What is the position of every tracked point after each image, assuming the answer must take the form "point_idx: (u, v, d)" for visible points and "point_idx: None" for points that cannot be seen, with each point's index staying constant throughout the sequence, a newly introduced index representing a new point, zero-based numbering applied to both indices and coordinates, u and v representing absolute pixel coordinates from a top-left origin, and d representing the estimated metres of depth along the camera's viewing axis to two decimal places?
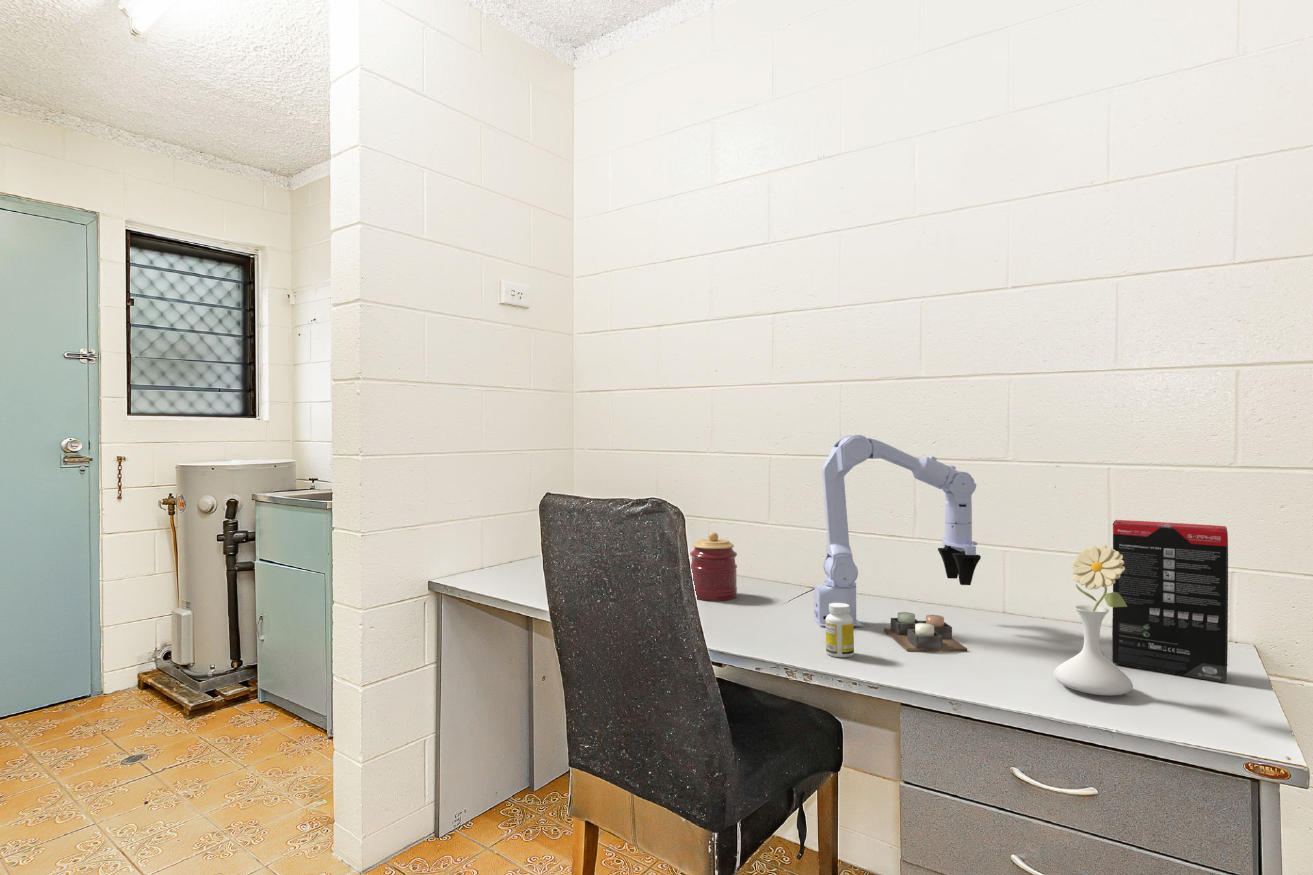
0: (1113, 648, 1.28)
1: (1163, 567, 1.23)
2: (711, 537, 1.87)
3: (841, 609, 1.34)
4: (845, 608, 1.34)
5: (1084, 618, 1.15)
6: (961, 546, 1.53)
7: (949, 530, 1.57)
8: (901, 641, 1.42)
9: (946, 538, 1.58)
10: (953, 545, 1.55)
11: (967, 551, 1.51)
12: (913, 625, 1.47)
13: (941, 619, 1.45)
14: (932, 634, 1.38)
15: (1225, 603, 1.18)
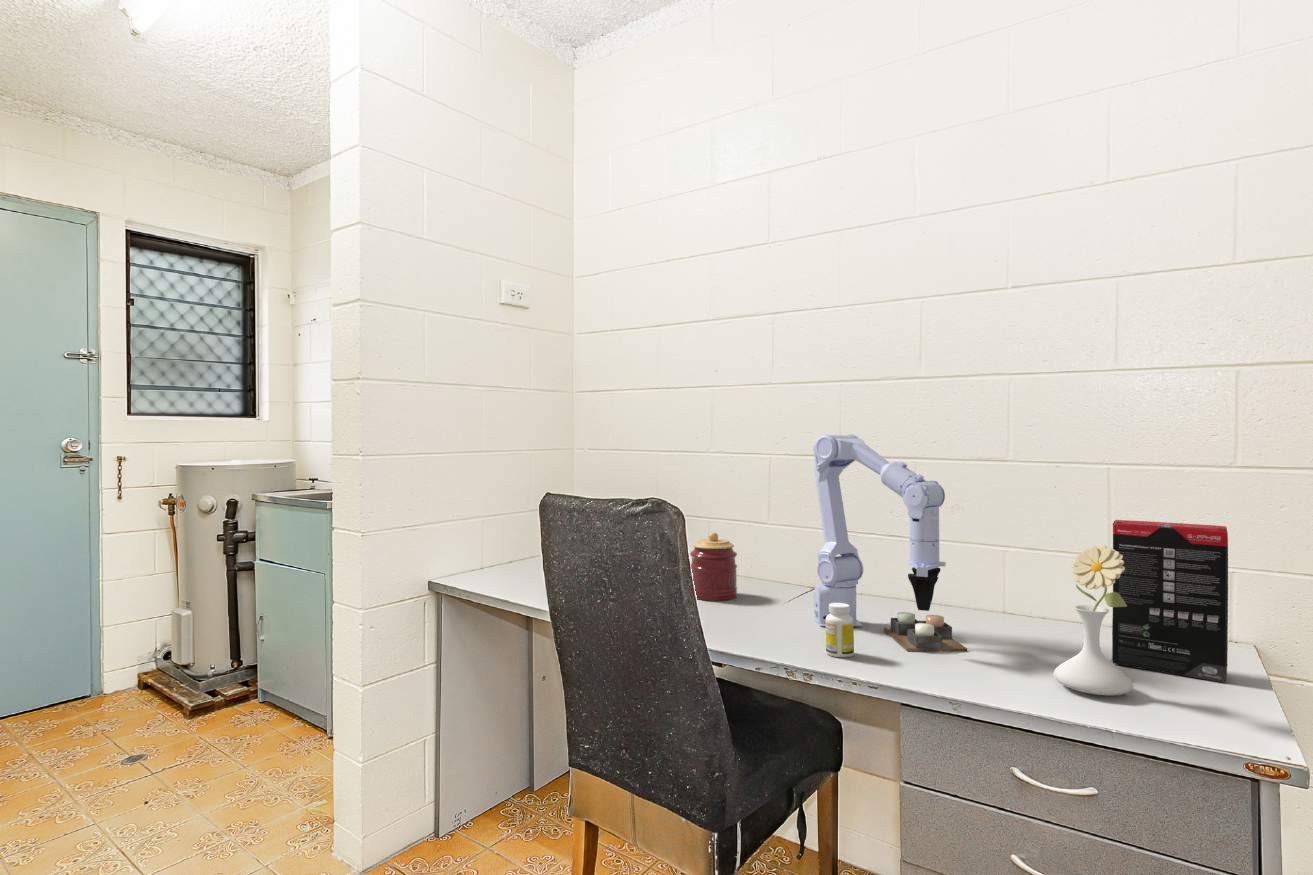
0: (1113, 648, 1.28)
1: (1163, 567, 1.23)
2: (711, 537, 1.87)
3: (841, 609, 1.34)
4: (845, 608, 1.34)
5: (1084, 618, 1.15)
6: (915, 566, 1.36)
7: (910, 548, 1.40)
8: (901, 641, 1.42)
9: None
10: (911, 565, 1.39)
11: (917, 572, 1.34)
12: (913, 625, 1.47)
13: (941, 619, 1.45)
14: (932, 634, 1.38)
15: (1225, 603, 1.18)
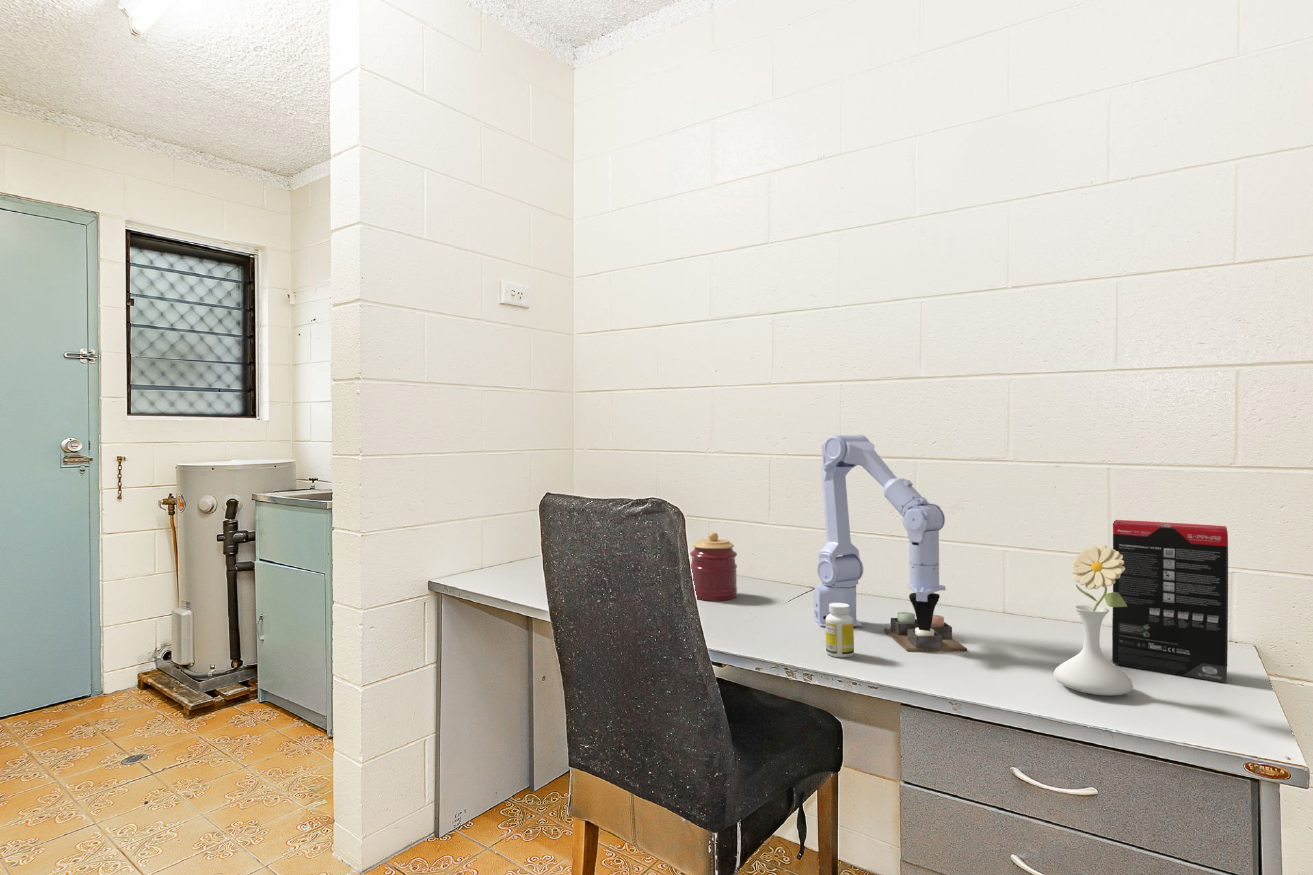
0: (1113, 648, 1.28)
1: (1163, 567, 1.23)
2: (711, 537, 1.87)
3: (841, 609, 1.34)
4: (845, 608, 1.34)
5: (1084, 618, 1.15)
6: (915, 590, 1.36)
7: (910, 571, 1.40)
8: (901, 641, 1.42)
9: None
10: (911, 588, 1.38)
11: (917, 597, 1.34)
12: (913, 625, 1.47)
13: (941, 619, 1.45)
14: None
15: (1225, 603, 1.18)
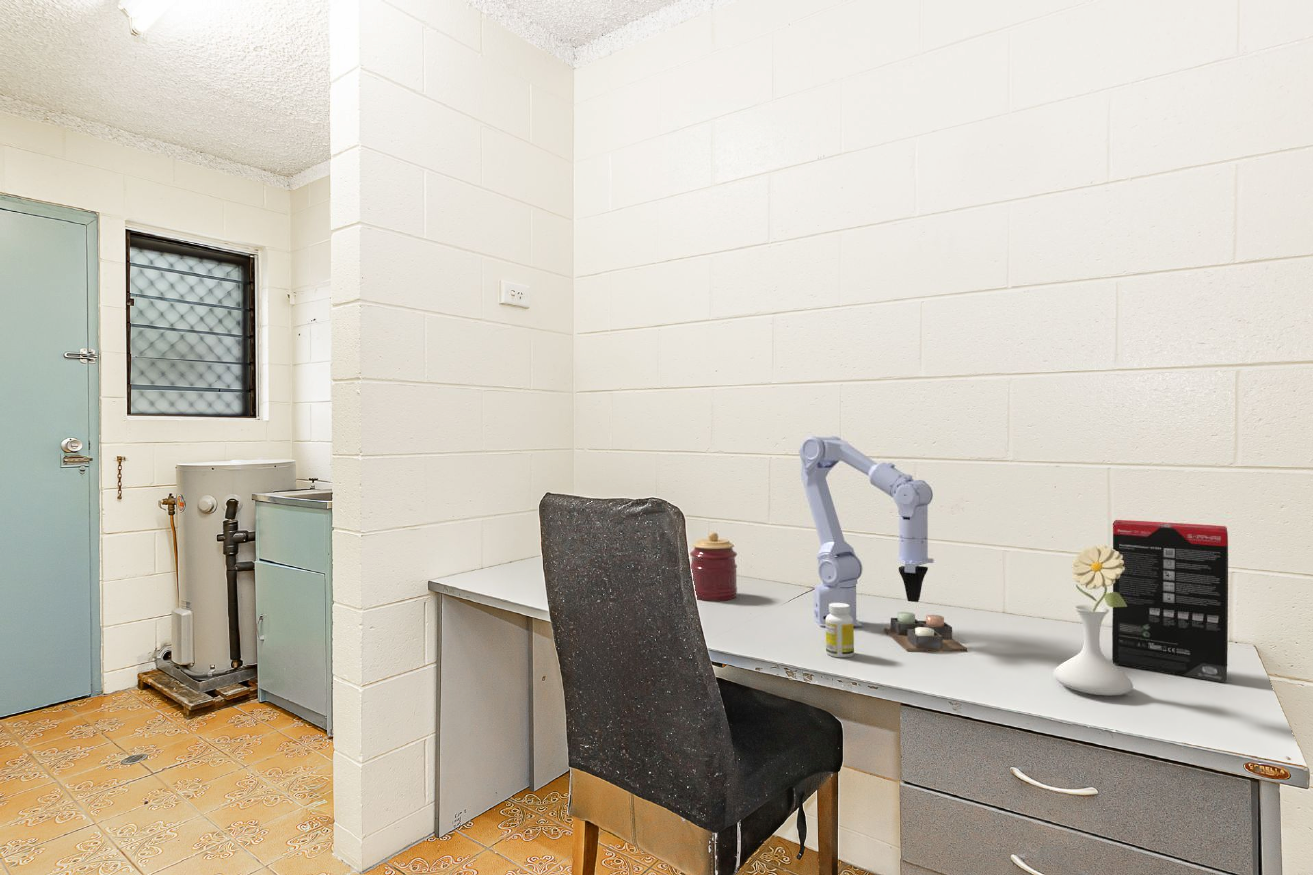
0: (1113, 648, 1.28)
1: (1163, 567, 1.23)
2: (711, 537, 1.87)
3: (841, 609, 1.34)
4: (845, 608, 1.34)
5: (1084, 618, 1.15)
6: (903, 562, 1.41)
7: (900, 545, 1.45)
8: (901, 641, 1.42)
9: (899, 553, 1.46)
10: (900, 561, 1.44)
11: (905, 568, 1.39)
12: (913, 625, 1.47)
13: (941, 619, 1.45)
14: None
15: (1225, 603, 1.18)
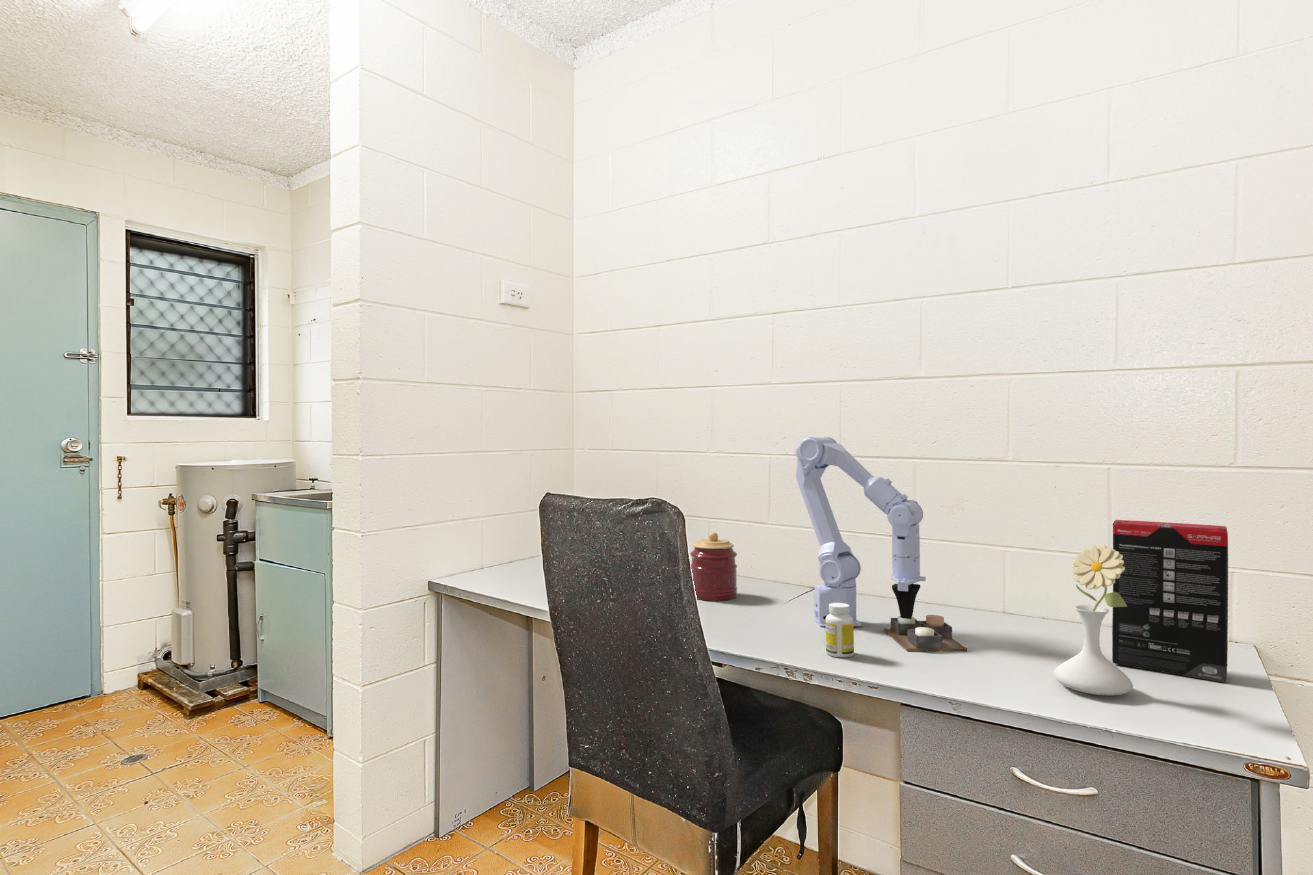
0: (1113, 648, 1.28)
1: (1163, 567, 1.23)
2: (711, 537, 1.87)
3: (841, 609, 1.34)
4: (845, 608, 1.34)
5: (1084, 618, 1.15)
6: (896, 581, 1.45)
7: (893, 563, 1.49)
8: (901, 641, 1.42)
9: (892, 571, 1.50)
10: (894, 579, 1.48)
11: (898, 587, 1.43)
12: (913, 625, 1.47)
13: (941, 619, 1.45)
14: None
15: (1225, 603, 1.18)
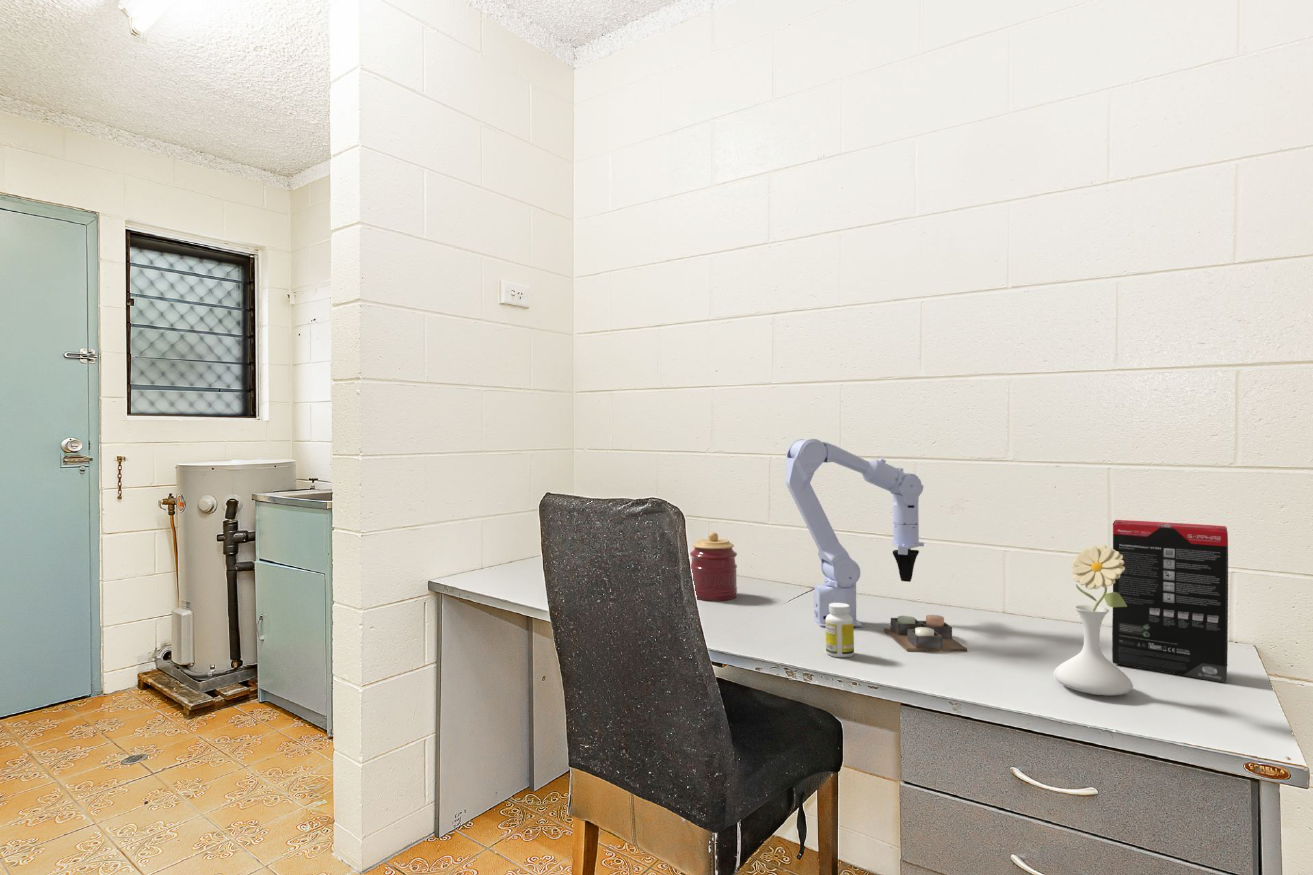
0: (1113, 648, 1.28)
1: (1163, 567, 1.23)
2: (711, 537, 1.87)
3: (841, 609, 1.34)
4: (845, 608, 1.34)
5: (1084, 618, 1.15)
6: (897, 546, 1.57)
7: (893, 530, 1.61)
8: (901, 641, 1.42)
9: (893, 538, 1.62)
10: (894, 545, 1.60)
11: (898, 550, 1.55)
12: (913, 625, 1.47)
13: (941, 619, 1.45)
14: None
15: (1225, 603, 1.18)
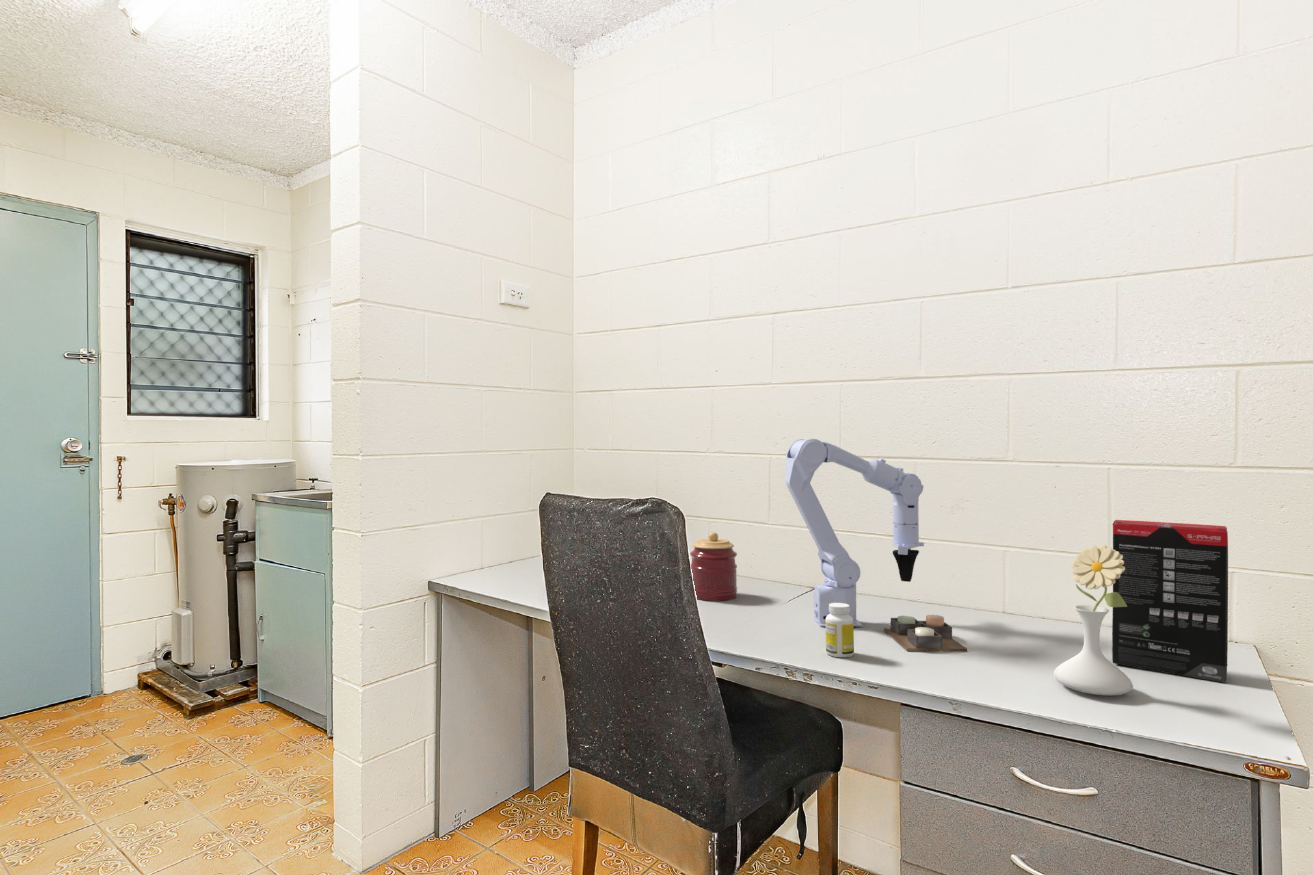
0: (1113, 648, 1.28)
1: (1163, 567, 1.23)
2: (711, 537, 1.87)
3: (841, 609, 1.34)
4: (845, 608, 1.34)
5: (1084, 618, 1.15)
6: (897, 546, 1.57)
7: (893, 530, 1.61)
8: (901, 641, 1.42)
9: (893, 538, 1.62)
10: (894, 545, 1.60)
11: (898, 550, 1.55)
12: (913, 625, 1.47)
13: (941, 619, 1.45)
14: None
15: (1225, 603, 1.18)
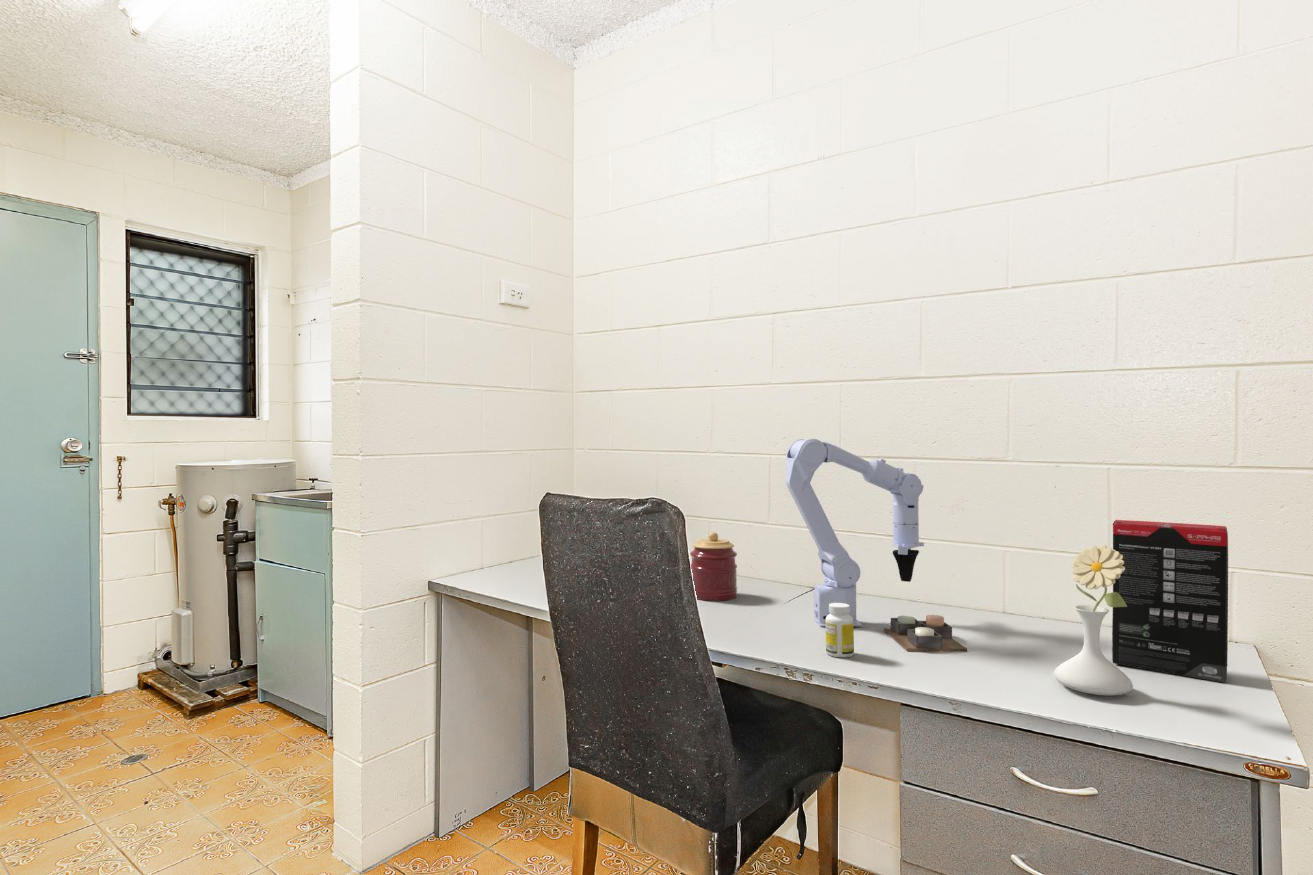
0: (1113, 648, 1.28)
1: (1163, 567, 1.23)
2: (711, 537, 1.87)
3: (841, 609, 1.34)
4: (845, 608, 1.34)
5: (1084, 618, 1.15)
6: (897, 546, 1.57)
7: (893, 530, 1.61)
8: (901, 641, 1.42)
9: (893, 538, 1.62)
10: (894, 545, 1.60)
11: (898, 550, 1.55)
12: (913, 625, 1.47)
13: (941, 619, 1.45)
14: None
15: (1225, 603, 1.18)
